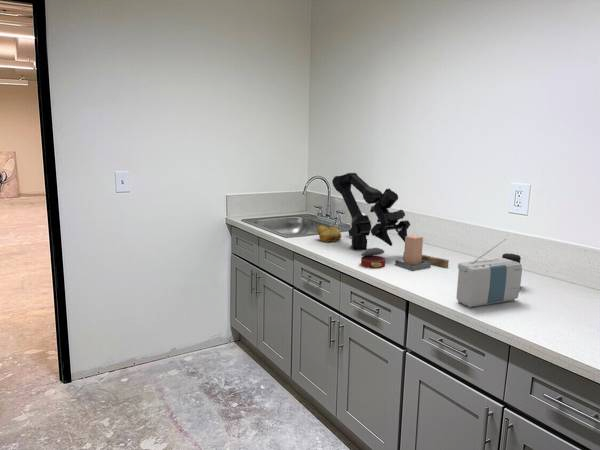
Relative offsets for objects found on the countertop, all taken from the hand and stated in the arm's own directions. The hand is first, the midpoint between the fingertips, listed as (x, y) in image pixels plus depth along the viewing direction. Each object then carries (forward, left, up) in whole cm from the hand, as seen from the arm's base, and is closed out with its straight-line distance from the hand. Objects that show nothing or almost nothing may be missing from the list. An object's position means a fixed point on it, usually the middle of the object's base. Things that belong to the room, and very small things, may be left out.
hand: (399, 244), depth 201 cm
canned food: (-13, -4, -8) cm, 16 cm away
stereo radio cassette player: (+11, -51, -8) cm, 52 cm away
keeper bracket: (+3, -7, -8) cm, 11 cm away
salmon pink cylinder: (+3, -7, -7) cm, 11 cm away
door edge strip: (+11, -3, -8) cm, 13 cm away
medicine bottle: (+28, -36, -8) cm, 47 cm away
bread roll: (-20, +42, -8) cm, 48 cm away
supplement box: (-5, +49, -8) cm, 50 cm away
